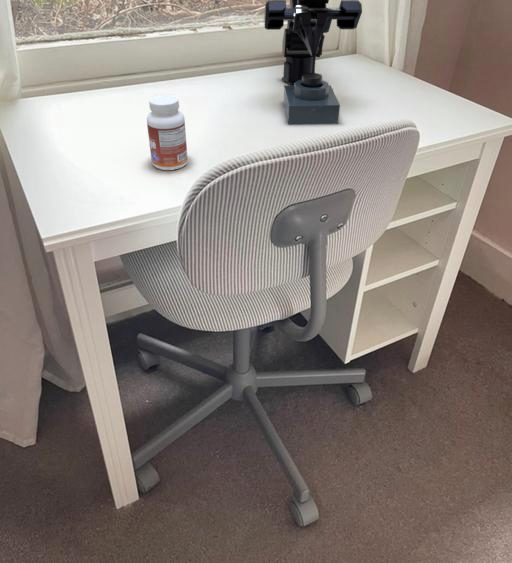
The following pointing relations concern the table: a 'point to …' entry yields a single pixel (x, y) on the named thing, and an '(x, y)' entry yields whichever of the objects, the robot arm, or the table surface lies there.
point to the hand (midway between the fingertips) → (313, 55)
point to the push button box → (311, 104)
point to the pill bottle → (166, 133)
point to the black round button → (312, 80)
